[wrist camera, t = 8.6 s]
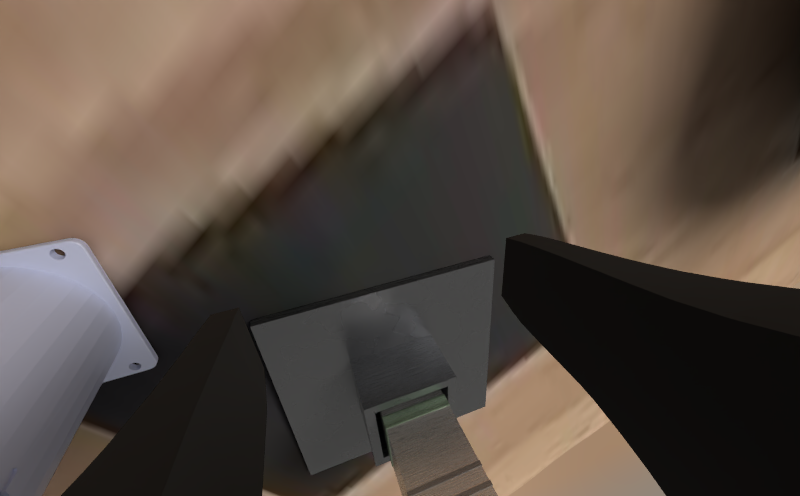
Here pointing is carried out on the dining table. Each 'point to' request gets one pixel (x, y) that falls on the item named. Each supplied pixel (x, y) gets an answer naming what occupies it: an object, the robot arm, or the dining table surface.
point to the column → (432, 450)
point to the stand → (378, 357)
